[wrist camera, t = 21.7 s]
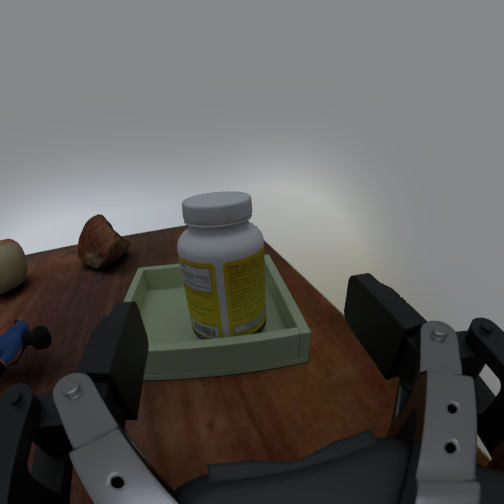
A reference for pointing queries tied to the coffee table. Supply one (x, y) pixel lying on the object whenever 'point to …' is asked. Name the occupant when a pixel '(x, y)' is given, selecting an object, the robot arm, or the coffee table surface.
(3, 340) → the person figurine
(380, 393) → the coffee table surface
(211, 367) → the tray
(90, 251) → the fossil
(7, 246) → the apple
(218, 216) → the pill bottle
